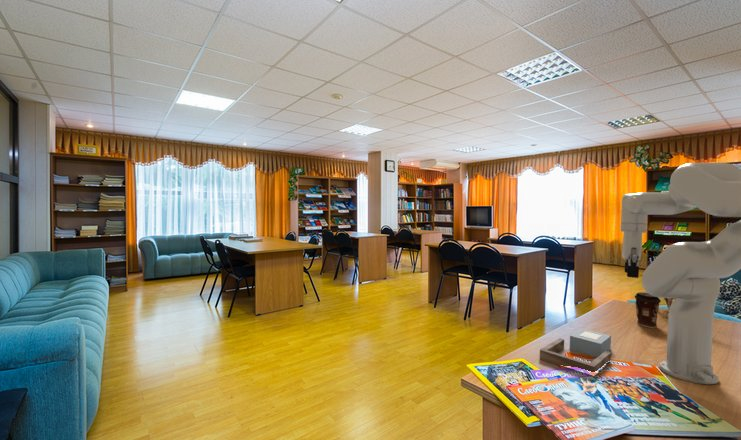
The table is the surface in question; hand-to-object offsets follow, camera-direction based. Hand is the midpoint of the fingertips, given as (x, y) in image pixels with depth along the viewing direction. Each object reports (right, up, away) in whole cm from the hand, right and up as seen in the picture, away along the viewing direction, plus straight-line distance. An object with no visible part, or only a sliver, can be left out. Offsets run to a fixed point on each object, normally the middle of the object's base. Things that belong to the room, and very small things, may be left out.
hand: (631, 274), depth 125 cm
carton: (-20, -24, -8) cm, 33 cm away
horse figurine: (+43, -24, +30) cm, 58 cm away
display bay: (-30, -24, -16) cm, 42 cm away
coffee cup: (+20, -24, +18) cm, 36 cm away
